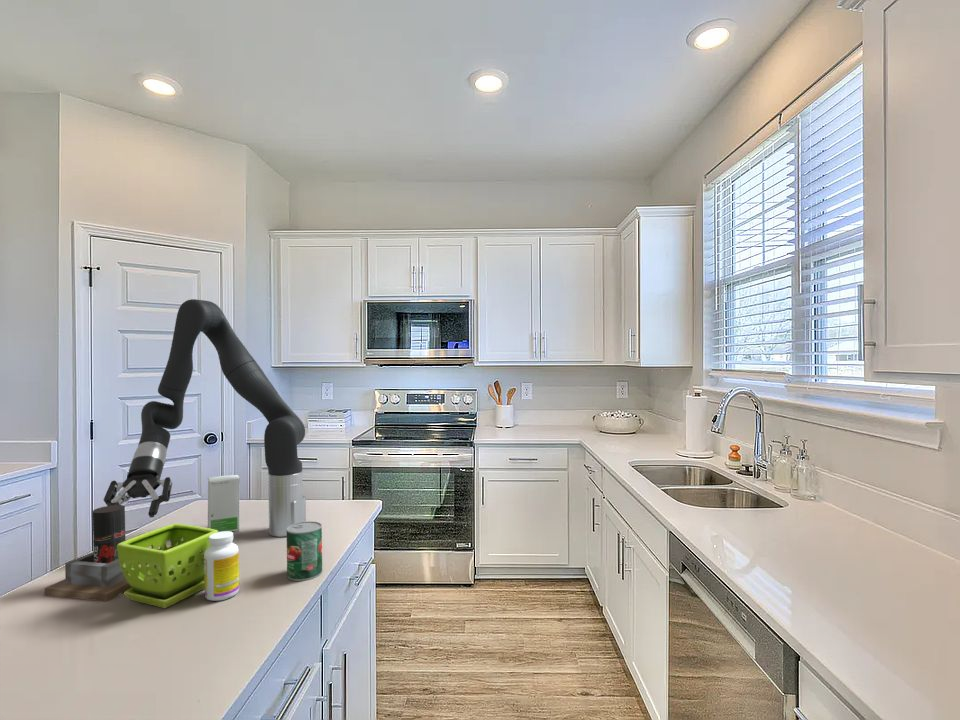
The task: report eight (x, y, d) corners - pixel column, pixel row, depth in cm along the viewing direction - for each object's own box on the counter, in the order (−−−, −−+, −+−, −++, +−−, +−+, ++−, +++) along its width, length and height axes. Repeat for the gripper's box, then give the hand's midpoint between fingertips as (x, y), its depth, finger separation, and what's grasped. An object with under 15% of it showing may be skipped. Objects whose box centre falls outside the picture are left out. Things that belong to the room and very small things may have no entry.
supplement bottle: (246, 590, 111) (245, 531, 111) (221, 604, 104) (221, 541, 104) (222, 585, 113) (221, 528, 113) (197, 599, 107) (196, 538, 107)
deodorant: (132, 569, 119) (131, 505, 118) (111, 580, 113) (109, 513, 112) (109, 568, 119) (108, 504, 119) (87, 579, 113) (85, 512, 113)
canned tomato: (329, 570, 121) (329, 523, 121) (305, 583, 114) (304, 534, 114) (304, 564, 124) (303, 519, 124) (279, 577, 117) (278, 529, 117)
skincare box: (208, 536, 145) (207, 481, 145) (207, 529, 150) (206, 476, 150) (240, 530, 149) (240, 477, 149) (238, 524, 155) (237, 473, 154)
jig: (187, 559, 128) (186, 535, 128) (106, 601, 106) (106, 572, 106) (133, 555, 131) (133, 532, 131) (44, 594, 110) (44, 567, 109)
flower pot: (114, 604, 105) (113, 543, 105) (176, 577, 118) (175, 522, 118) (164, 616, 100) (163, 551, 100) (222, 585, 113) (221, 528, 113)
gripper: (113, 456, 134) (93, 512, 123) (174, 453, 138) (159, 507, 127) (122, 472, 139) (104, 527, 128) (180, 468, 143) (167, 522, 132)
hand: (131, 517), depth 127 cm, fingers open, 8 cm apart
